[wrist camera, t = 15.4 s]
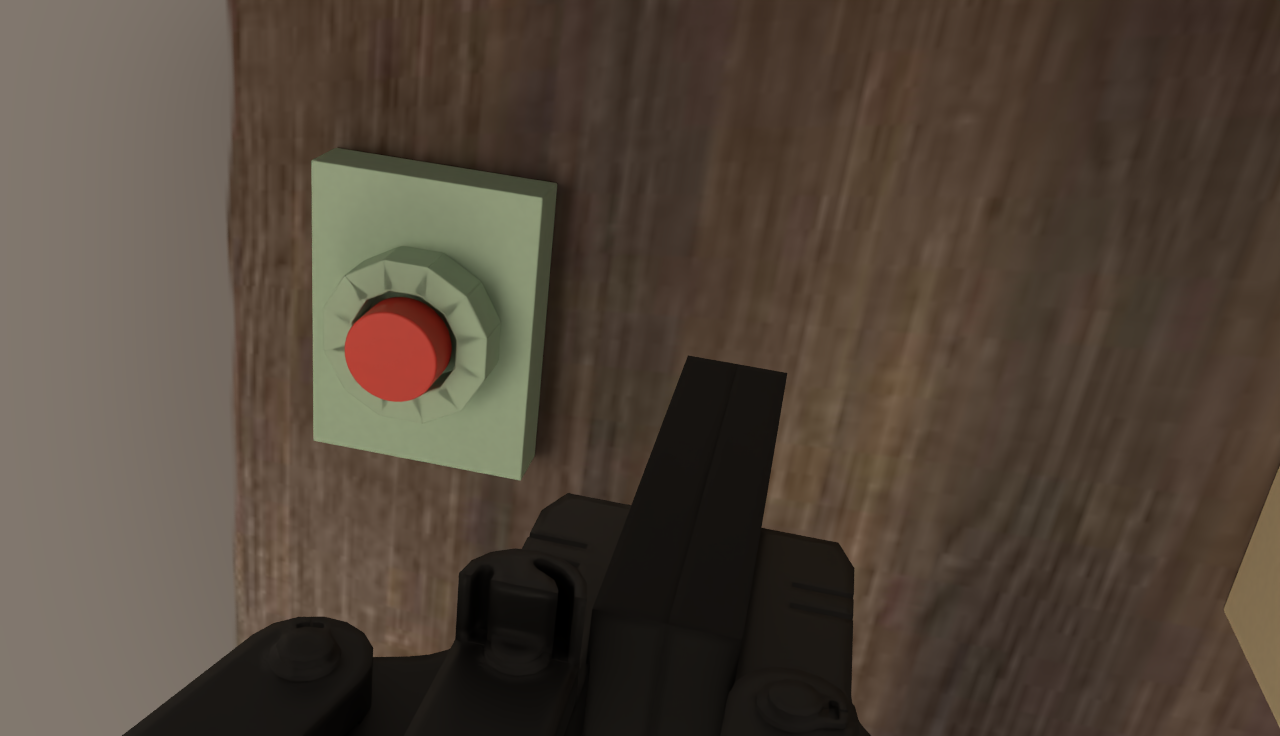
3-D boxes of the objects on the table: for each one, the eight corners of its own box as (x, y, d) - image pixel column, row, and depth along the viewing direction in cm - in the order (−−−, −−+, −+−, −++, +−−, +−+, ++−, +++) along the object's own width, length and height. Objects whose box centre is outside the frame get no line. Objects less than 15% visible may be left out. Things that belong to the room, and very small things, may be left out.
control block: (335, 147, 45) (288, 171, 42) (557, 183, 44) (529, 210, 41) (335, 418, 50) (293, 460, 47) (534, 456, 49) (508, 503, 45)
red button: (363, 288, 43) (343, 304, 42) (454, 304, 43) (438, 321, 41) (361, 375, 45) (343, 393, 43) (450, 391, 44) (435, 410, 43)
